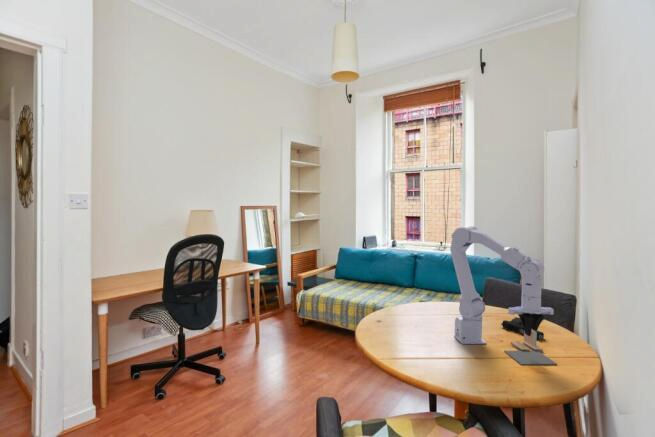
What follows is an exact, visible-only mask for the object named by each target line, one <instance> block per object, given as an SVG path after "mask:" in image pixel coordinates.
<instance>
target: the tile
mask: <svg viewBox="0 0 655 437" xmlns="http://www.w3.org/2000/svg"><path fill="white" fill-rule="evenodd" d="M537 340H538V339H537V332H536V331H535V330H533V329H531V335H530V336H528V335H526V334H525V331H524V334H523V341H526V342H527V343H528V344H530V345H531V346H533V347H536V345H537Z"/></svg>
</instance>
